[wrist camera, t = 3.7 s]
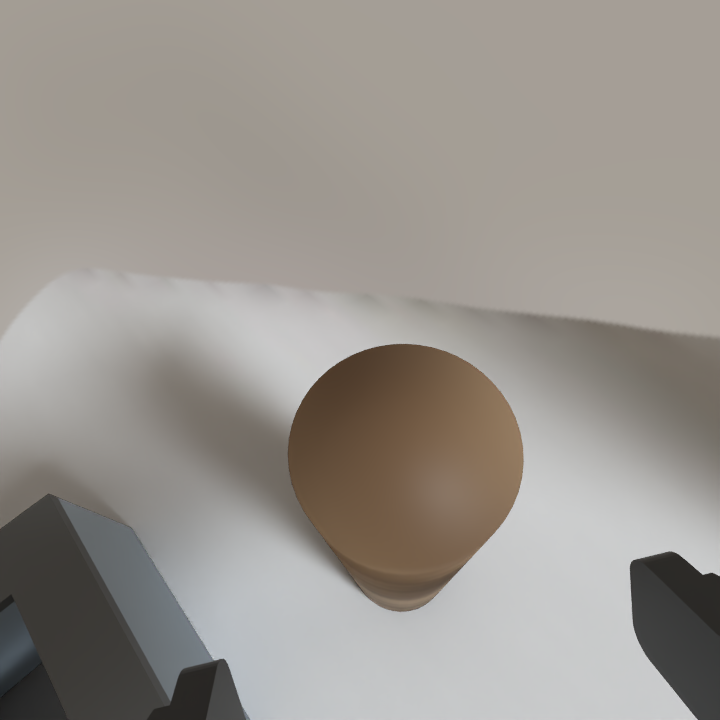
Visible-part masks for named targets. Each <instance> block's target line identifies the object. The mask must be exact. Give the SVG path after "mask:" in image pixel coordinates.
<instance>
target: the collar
mask: <svg viewBox="0 0 720 720" xmlns="http://www.w3.org/2000/svg"><path fill="white" fill-rule="evenodd" d="M211 661H213V659H212V657H211V656H210V654H209V653H208V651H207V649H206V648H205V646H204V644H203V643H202V641H201V640H200V638H199V636H198V635H197V633H196V631H195V630H194V628H193V627H192V625H191V623H190V622H189V620H188V618H187V617H186V615H185V614H184V612H183V610H182V609H181V607H180V606H179V604H178V602H177V601H176V599H175V597H174V596H173V594H172V593H171V591H170V589H169V588H168V586H167V584H166V583H165V581H164V580H163V578H162V576H161V575H160V573H159V571H158V570H157V568H156V567H155V565H154V563H153V562H152V560H151V558H150V557H149V555H148V554H147V552H146V550H145V549H144V547H143V546H142V544H141V542H140V541H139V539H138V537H137V536H136V534H135V533H134V531H133V529H132V528H131V527H128V526H126V525H123V524H121V523H119V522H116V521H114V520H111V519H109V518H107V517H104V516H102V515H99V514H97V513H94V512H92V511H90V510H87V509H85V508H82V507H80V506H77V505H75V504H73V503H70V502H68V501H65V500H63V499H60V498H58V497H56V496H53V495H51V494H47V495H46V496H45V497H43V498H42V499H41V500H39V501H38V502H37V503H35V504H34V505H32V506H31V507H30V508H28V509H27V510H26V511H24V512H23V513H22V514H20V515H19V516H17V517H16V518H15V519H13V520H12V521H11V522H9V523H8V524H7V525H5V526H4V527H2V528H1V529H0V697H1V696H3V695H4V694H5V693H6V692H7V691H8V690H10V689H11V688H12V687H13V686H14V685H16V684H17V683H18V682H19V681H20V680H22V679H23V678H24V677H25V676H26V675H28V674H29V673H30V672H31V671H32V670H34V669H35V668H36V667H37V666H38V665H39V664H41V663H43V665H44V667H45V670H46V672H47V674H48V676H49V678H50V681H51V683H52V685H53V687H54V690H55V692H56V694H57V696H58V698H59V701H60V703H61V705H62V707H63V709H64V712H65V714H66V716H67V718H68V720H147V718H148V717H149V715H150V714H151V713H152V711H153V710H154V709H156V708H160V707H164V706H168V705H170V703H171V700H172V696H173V693H174V689H175V686H176V683H177V679H178V676H179V674H180V672H181V671H182V669H184V668H187V667H191V666H195V665H199V664H203V663H207V662H211ZM242 709H243V708H242ZM243 712H244V715H245V718H246V720H250V719H249V717H248V716H247V714H246V713H245V711H244V709H243Z"/></svg>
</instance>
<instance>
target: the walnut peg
mask: <svg viewBox="0 0 720 720" xmlns="http://www.w3.org/2000/svg"><path fill="white" fill-rule="evenodd" d="M523 462H524V461H523V445H522V440H521V434H520V430H519V427H518V424H517V421H516V418H515V416H514V414H513V412H512V410H511V408H510V406H509V404H508V402H507V401H506V399H505V398H504V396H503V395H502V393H501V392H500V391H499V390H498V388H497V387H496V386H495V385H494V384H493V382H492V381H491V380H490V379H488V378H487V377H486V376H485V375H484V374H483V373H482V372H481V371H479V370H478V369H477V368H475V367H474V366H473V365H471V364H470V363H468V362H466V361H464V360H463V359H461V358H459V357H457V356H455V355H452V354H450V353H448V352H445V351H442V350H439V349H436V348H432V347H427V346H421V345H412V344H393V345H385V346H379V347H375V348H371V349H367V350H364V351H361V352H359V353H356V354H354V355H352V356H350V357H348V358H346V359H344V360H342V361H341V362H339V363H338V364H336V365H335V366H333V367H332V368H330V369H329V370H328V371H327V372H326V373H325V374H324V375H322V376H321V377H320V378H319V379H318V380H317V381H316V383H315V384H314V385H313V386H312V387H311V388H310V390H309V391H308V393H307V394H306V396H305V397H304V399H303V400H302V402H301V404H300V406H299V408H298V410H297V412H296V415H295V418H294V421H293V424H292V427H291V432H290V437H289V445H288V463H289V472H290V477H291V481H292V485H293V488H294V491H295V494H296V496H297V499H298V501H299V503H300V505H301V506H302V508H303V510H304V512H305V514H306V515H307V516H308V518H309V519H310V521H311V522H312V523H313V525H314V526H315V528H316V529H317V530H318V532H319V533H320V534H321V536H322V537H323V538H324V540H325V541H326V542H327V544H328V545H329V546H330V548H331V549H332V550H333V552H334V553H335V555H336V556H337V557H338V559H339V560H340V561H341V563H342V564H343V565H344V567H345V568H346V569H347V571H348V572H349V573H350V575H351V576H352V577H353V579H354V580H355V581H356V583H357V584H358V586H359V587H360V588H361V590H362V591H363V592H364V594H365V595H366V596H367V597H368V598H369V599H370V600H372V601H373V602H374V603H375V604H377V605H379V606H381V607H383V608H385V609H388V610H392V611H398V612H402V611H411V610H415V609H418V608H420V607H422V606H424V605H425V604H427V603H428V602H430V601H431V600H432V599H433V598H434V597H435V596H436V595H437V594H438V593H439V591H440V590H441V589H442V588H443V587H444V586H445V585H446V584H447V583H448V582H449V581H450V580H451V579H452V578H453V577H454V575H455V574H456V573H457V572H458V571H459V570H460V569H461V568H462V567H463V566H464V565H465V564H466V563H467V562H468V561H469V559H470V558H471V557H472V556H473V555H474V554H475V553H476V552H477V551H478V550H479V549H480V548H481V547H482V546H483V545H484V543H485V542H486V541H487V540H488V539H489V538H490V537H491V536H492V535H493V534H494V533H495V531H496V530H497V529H498V528H499V527H500V525H501V524H502V523H503V522H504V520H505V519H506V517H507V515H508V514H509V512H510V510H511V508H512V507H513V504H514V502H515V499H516V497H517V494H518V492H519V488H520V484H521V480H522V473H523Z"/></svg>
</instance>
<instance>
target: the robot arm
mask: <svg viewBox="0 0 720 720" xmlns="http://www.w3.org/2000/svg"><path fill="white" fill-rule="evenodd" d="M630 580H631V598H632V616H633V626H634V630H635V633H636V636H637V639H638V641H639V643H640V645H641V647H642V649H643V651H644V653H645V654H646V656H647V657H648V659H649V660H650V661H651V662H652V664H653V665H654V666H655V667H656V669H657V670H658V671H659V672H660V674H661V675H662V676H663V677H664V679H665V680H666V681H667V682H668V683H669V685H670V686H671V687H672V688H673V690H674V691H675V692H676V693H677V695H678V696H679V697H680V698H681V700H682V701H683V702H684V703H685V704H686V706H687V707H688V708H689V709H690V711H691V712H692V713H693V714H694V716H695V717H696V718H697V719H698V720H720V576H718V575H716V574H714V573H709V574H705V575H702V574H701V573H700V572H699V571H697V570H696V569H695V568H694V567H693V566H692V565H690V564H689V563H688V562H687V561H686V560H685V559H683V558H682V557H681V556H680V555H678V554H677V553H675V552H665V553H661V554H657V555H653V556H649V557H645V558H641V559H637V560H633V561H632V562H631V565H630ZM147 720H246V718H245V715H244V712H243V709H242V706H241V703H240V700H239V697H238V694H237V691H236V688H235V684H234V681H233V678H232V675H231V672H230V669H229V667H228V664H227V662H226V661H225V660H224V659H220V660H216V661H211V662H207V663H203V664H199V665H195V666H191V667H187V668H184V669H182V671H181V672H180V674H179V676H178V679H177V683H176V686H175V689H174V693H173V696H172V700H171V703H170V705H168V706H164V707H160V708H156V709H154V710H153V711H152V713H151V714H150V715H149V717H148V718H147Z"/></svg>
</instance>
